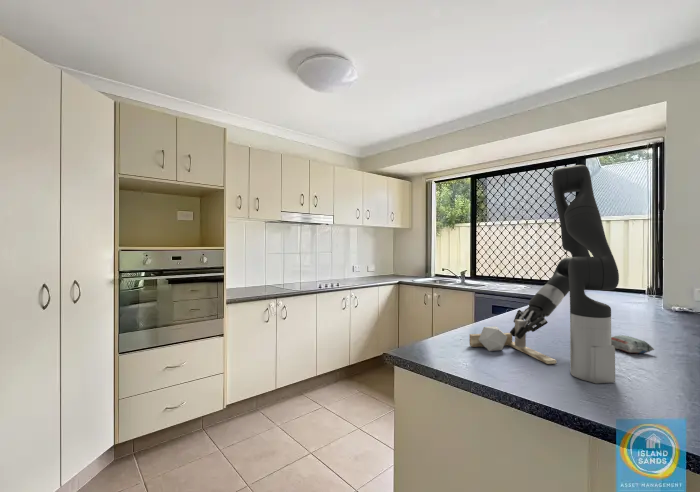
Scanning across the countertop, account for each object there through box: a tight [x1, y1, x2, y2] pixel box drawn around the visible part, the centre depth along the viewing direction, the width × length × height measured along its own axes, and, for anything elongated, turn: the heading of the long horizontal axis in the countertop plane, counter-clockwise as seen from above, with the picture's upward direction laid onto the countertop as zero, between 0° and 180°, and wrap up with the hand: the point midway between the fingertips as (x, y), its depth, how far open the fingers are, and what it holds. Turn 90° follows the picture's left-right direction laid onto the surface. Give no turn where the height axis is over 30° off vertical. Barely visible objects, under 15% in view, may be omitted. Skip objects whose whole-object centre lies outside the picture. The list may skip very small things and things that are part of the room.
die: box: [479, 326, 507, 352], centre depth 116 cm, size 8×9×10 cm
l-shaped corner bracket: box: [469, 319, 557, 365], centre depth 110 cm, size 22×17×10 cm
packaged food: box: [611, 334, 655, 354], centre depth 114 cm, size 9×12×5 cm
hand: (514, 335), depth 115 cm, fingers closed on l-shaped corner bracket, 2 cm apart
